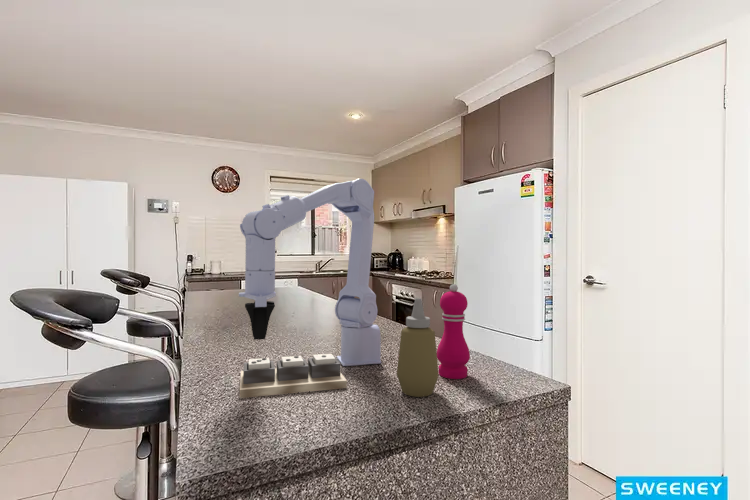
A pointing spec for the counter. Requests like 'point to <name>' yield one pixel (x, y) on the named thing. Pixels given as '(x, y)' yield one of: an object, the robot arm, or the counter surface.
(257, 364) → the tile three
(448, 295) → the pepper mill
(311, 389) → the tile board
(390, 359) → the counter surface
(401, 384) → the squeeze bottle
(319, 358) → the tile one
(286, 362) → the tile two
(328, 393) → the counter surface
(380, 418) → the counter surface
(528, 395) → the counter surface
